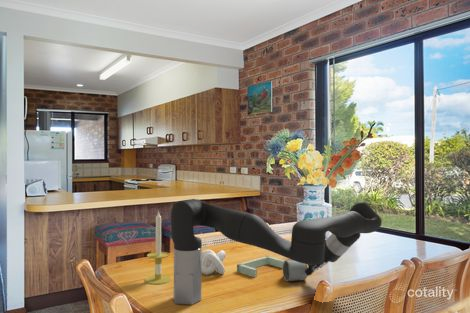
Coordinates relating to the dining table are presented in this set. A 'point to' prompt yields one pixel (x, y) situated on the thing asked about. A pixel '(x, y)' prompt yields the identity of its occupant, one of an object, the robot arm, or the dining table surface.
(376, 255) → the dining table surface
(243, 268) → the u-shaped bracket
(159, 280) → the candle
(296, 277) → the ceramic mug
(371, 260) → the dining table surface
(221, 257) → the white knot sculpture
